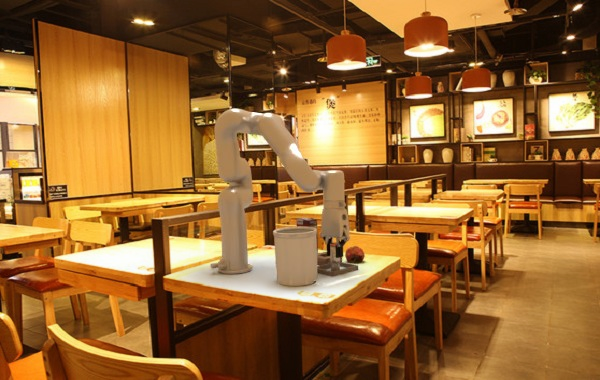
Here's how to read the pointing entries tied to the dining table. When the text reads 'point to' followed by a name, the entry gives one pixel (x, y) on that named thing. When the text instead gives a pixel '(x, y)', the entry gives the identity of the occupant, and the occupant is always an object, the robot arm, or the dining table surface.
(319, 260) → the pin block
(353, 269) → the tray
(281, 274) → the utensil holder
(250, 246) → the dining table surface
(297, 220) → the supplement box
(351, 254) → the pomegranate
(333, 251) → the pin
